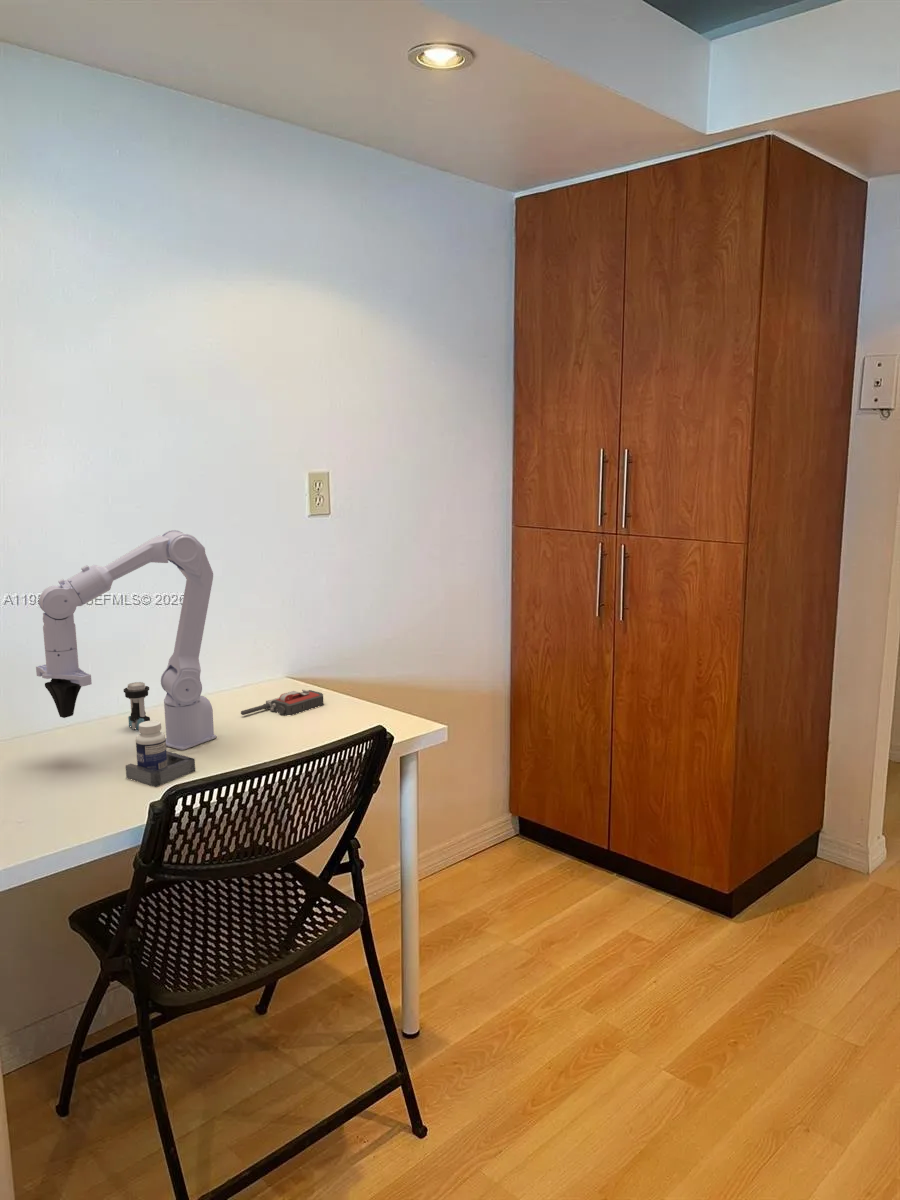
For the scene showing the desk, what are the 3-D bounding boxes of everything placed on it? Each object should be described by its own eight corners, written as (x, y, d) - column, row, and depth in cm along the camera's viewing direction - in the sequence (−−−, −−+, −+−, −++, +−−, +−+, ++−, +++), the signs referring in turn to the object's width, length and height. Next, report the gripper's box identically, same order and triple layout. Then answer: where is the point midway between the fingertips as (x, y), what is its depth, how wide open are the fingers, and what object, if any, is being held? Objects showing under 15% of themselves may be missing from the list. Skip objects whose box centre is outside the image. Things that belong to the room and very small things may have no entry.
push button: (161, 728, 198) (158, 684, 196) (141, 734, 193) (138, 689, 192) (141, 723, 201) (138, 679, 200) (121, 729, 197) (117, 685, 195)
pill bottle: (136, 770, 173) (132, 721, 171) (165, 765, 175) (162, 717, 174) (140, 779, 168) (136, 729, 166) (169, 774, 170) (166, 725, 169)
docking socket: (166, 763, 177) (165, 750, 176) (195, 771, 172) (194, 758, 172) (126, 778, 169) (125, 765, 168) (155, 787, 164) (154, 774, 164)
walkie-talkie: (305, 698, 221) (238, 718, 206) (304, 681, 220) (237, 699, 205) (329, 705, 216) (262, 725, 200) (328, 687, 215) (262, 706, 200)
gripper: (19, 647, 174) (25, 715, 176) (65, 657, 166) (71, 727, 168) (52, 640, 180) (57, 706, 182) (98, 649, 172) (103, 718, 174)
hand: (66, 716), depth 176 cm, fingers closed
